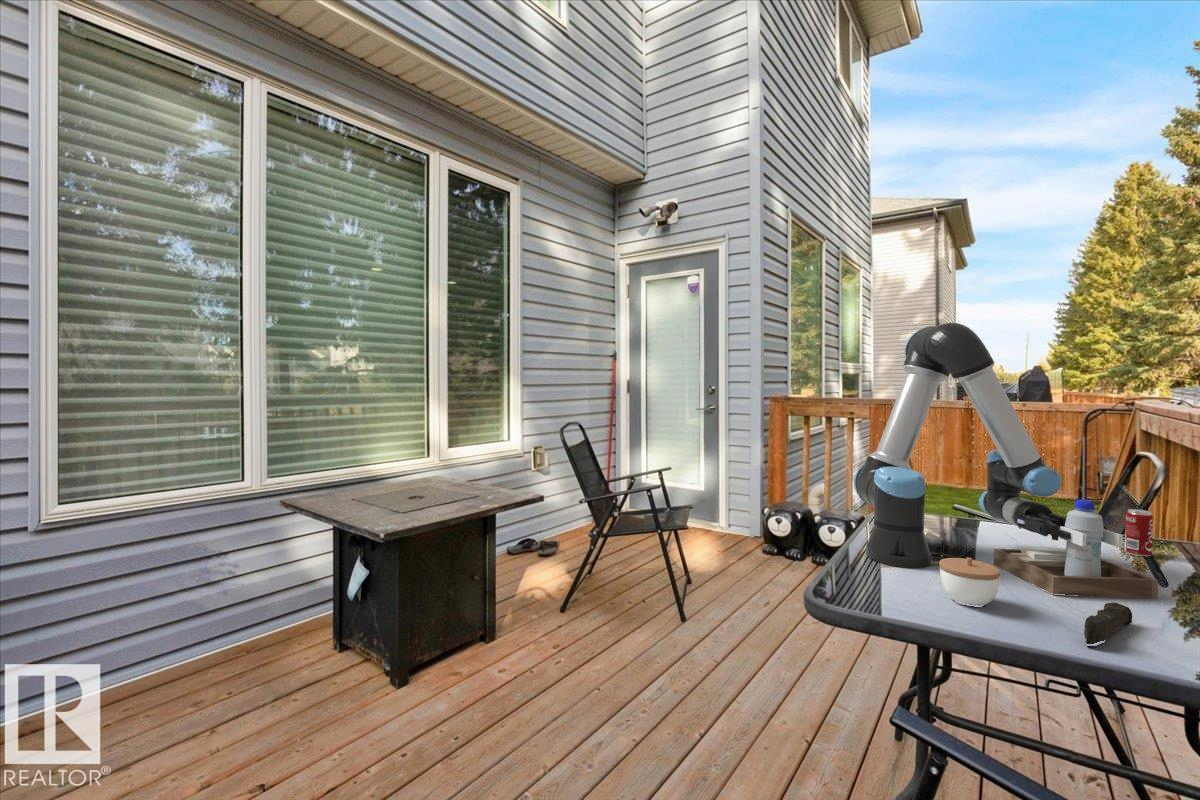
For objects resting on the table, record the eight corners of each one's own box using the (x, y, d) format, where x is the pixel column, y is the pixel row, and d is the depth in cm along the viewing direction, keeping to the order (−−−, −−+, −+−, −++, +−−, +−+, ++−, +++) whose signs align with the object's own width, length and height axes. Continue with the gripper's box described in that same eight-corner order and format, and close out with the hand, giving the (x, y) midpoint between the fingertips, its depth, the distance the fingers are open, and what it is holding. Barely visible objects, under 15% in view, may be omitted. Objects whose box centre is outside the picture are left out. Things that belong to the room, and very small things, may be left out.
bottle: (1056, 583, 125) (1059, 498, 124) (1072, 579, 128) (1075, 495, 127) (1092, 594, 119) (1095, 504, 118) (1108, 589, 122) (1111, 501, 121)
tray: (993, 564, 138) (994, 548, 138) (1082, 566, 137) (1082, 551, 136) (1052, 595, 118) (1053, 577, 118) (1157, 598, 117) (1158, 580, 116)
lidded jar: (998, 599, 116) (999, 556, 116) (1000, 617, 107) (1002, 570, 107) (939, 588, 122) (940, 547, 122) (937, 604, 113) (938, 560, 113)
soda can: (1139, 552, 148) (1141, 508, 148) (1157, 558, 143) (1159, 513, 143) (1119, 551, 149) (1120, 508, 149) (1136, 557, 144) (1137, 512, 143)
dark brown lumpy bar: (1105, 618, 107) (1105, 595, 107) (1132, 626, 104) (1133, 602, 104) (1067, 643, 97) (1068, 618, 97) (1096, 652, 94) (1097, 626, 94)
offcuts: (1006, 562, 137) (1007, 546, 137) (1079, 564, 135) (1079, 548, 135) (1026, 572, 130) (1026, 555, 130) (1102, 574, 128) (1103, 557, 128)
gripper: (1067, 530, 140) (1150, 559, 117) (988, 528, 142) (1054, 556, 119) (1068, 501, 140) (1151, 524, 117) (988, 500, 142) (1055, 522, 119)
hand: (1102, 540), depth 118 cm, fingers closed on bottle, 7 cm apart
